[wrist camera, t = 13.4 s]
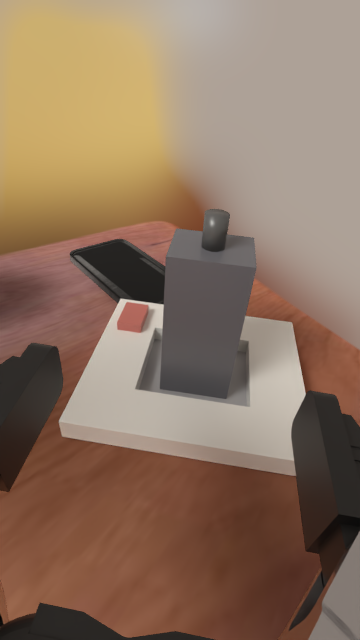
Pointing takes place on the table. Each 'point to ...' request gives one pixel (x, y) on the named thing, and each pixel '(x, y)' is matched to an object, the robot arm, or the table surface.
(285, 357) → the socket plate
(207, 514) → the table surface
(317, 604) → the robot arm
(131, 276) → the phone
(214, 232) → the plug
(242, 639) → the table surface
